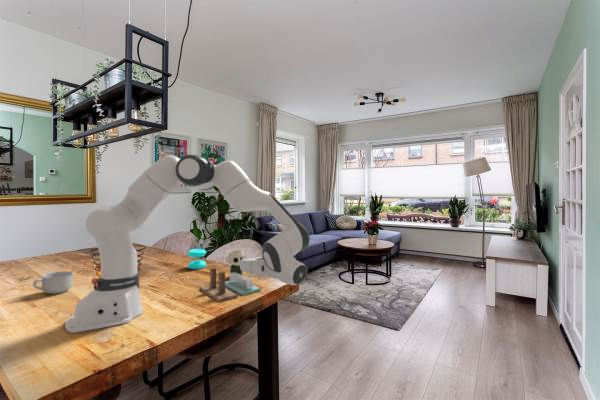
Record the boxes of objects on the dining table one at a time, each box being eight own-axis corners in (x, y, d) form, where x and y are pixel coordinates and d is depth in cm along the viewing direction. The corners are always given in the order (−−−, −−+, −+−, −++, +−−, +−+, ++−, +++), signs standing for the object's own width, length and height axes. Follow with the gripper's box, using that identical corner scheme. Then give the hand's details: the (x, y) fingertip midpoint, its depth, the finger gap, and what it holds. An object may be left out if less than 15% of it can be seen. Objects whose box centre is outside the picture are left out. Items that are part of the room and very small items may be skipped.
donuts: (194, 252, 164) (184, 250, 170) (195, 270, 164) (184, 267, 170) (209, 249, 172) (199, 248, 178) (209, 266, 172) (199, 264, 178)
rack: (219, 302, 117) (218, 276, 116) (199, 289, 132) (199, 267, 132) (237, 297, 122) (237, 273, 122) (216, 285, 137) (216, 264, 137)
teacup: (68, 286, 137) (68, 269, 137) (77, 290, 131) (77, 273, 131) (28, 295, 126) (28, 276, 126) (36, 300, 120) (35, 280, 119)
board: (242, 295, 124) (242, 292, 124) (222, 284, 138) (222, 282, 138) (260, 290, 130) (260, 288, 130) (239, 281, 144) (239, 278, 144)
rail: (246, 290, 127) (246, 281, 127) (229, 281, 139) (229, 273, 139) (252, 288, 129) (252, 279, 129) (235, 280, 141) (235, 272, 141)
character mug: (229, 280, 146) (229, 254, 145) (223, 277, 151) (222, 251, 151) (248, 276, 153) (248, 251, 152) (242, 273, 158) (241, 249, 158)
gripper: (295, 254, 119) (275, 248, 130) (251, 260, 106) (233, 254, 117) (295, 269, 119) (275, 263, 130) (251, 278, 106) (232, 269, 117)
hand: (255, 258), depth 123 cm, fingers open, 8 cm apart
